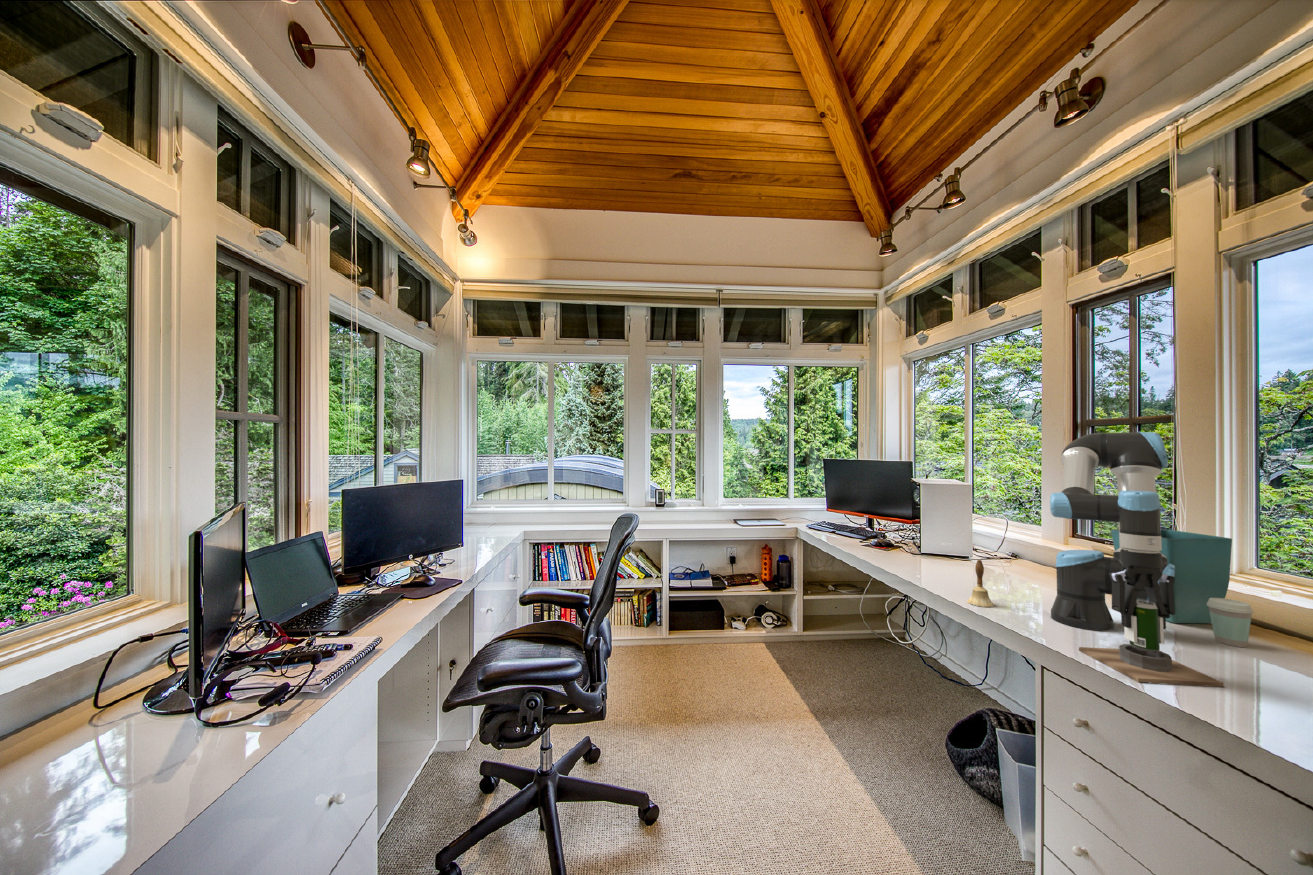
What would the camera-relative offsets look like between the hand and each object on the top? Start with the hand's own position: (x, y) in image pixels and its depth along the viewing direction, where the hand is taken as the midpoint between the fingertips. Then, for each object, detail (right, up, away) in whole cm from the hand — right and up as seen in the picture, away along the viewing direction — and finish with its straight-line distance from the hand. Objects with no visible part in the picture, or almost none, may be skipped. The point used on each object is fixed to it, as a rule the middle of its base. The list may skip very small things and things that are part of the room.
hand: (1144, 640), depth 118 cm
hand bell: (-7, -9, +50) cm, 51 cm away
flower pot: (+48, -8, +36) cm, 61 cm away
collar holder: (0, -7, 0) cm, 7 cm away
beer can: (0, -2, 0) cm, 2 cm away
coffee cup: (+41, -8, +15) cm, 44 cm away
